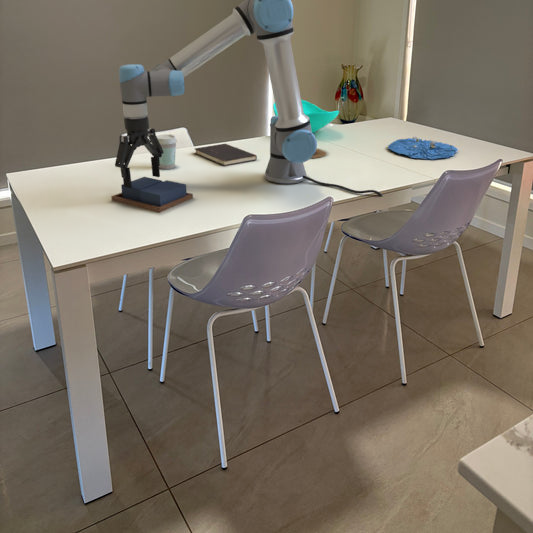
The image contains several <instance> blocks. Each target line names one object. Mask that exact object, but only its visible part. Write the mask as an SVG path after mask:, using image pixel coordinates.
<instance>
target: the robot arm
mask: <svg viewBox="0 0 533 533" xmlns="http://www.w3.org/2000/svg"><path fill="white" fill-rule="evenodd" d="M293 18H294V6H293V3H292V0H244V1H242V2H240V4H238V5H237V6H236V7H233V8H232V14H230V15H229V16H227V17H226V18H224V19H223V20H221V21H220V22H218V23H217V24H216V25H215V26H213V27H212V28H211V29H209V30H208V31H206V32H205V33H203V34H202V35H200V36H199V37H198V38H196V39H195V40H193V41H192V42H190V43H189V44H187V46H185V47H183V48H182V49H181V50H179V51H178V52H177V53H175V54H174V55H172V56H170V57H169V58H168V59H167V60H165V61H163V63H160V64H157V65H156V66H155V67H154V68H153V69H152V71H151V70H150V71H147V70H145V68H144V67H145V66H144V65H143V64H135V63H134V64H133V63H132V64H131V63H129V64H123V65H121V66H120V67H119V68H118V71H119V72H118V74H119V87H120V95H121V102H122V114H123V116H124V118H123V122H124V130H125V131H126V135H119V143H118V144H119V145H118V149H117V153H116V158H115V162H114V167H116V168H119V169H120V174H121V178H122V181H123V184H124V187H127V188H132V185H131V181H132V175H131V168H130V167H129V165H130V163H131V160H132V157H133V155H134V152H135V151H136V150H137V149H138V148H140V147H141V146H144V147H145V149H146V150H147V151H148V152H149V154H151V156H150V163H151V175H152V177H155V178H160V177H161V172H160V160H159V157H160V158H161V157H162V154H163V153H164V152H163V149H162V147H161V145H160V143H159V141H158V139H157V137H156V136H157V134H156V130H155V129H156V128H153V127H150V124H149V122H150V121H149V117H148V115H149V112H148V102H147V97H149V98H151V97H176V96H182V95H184V94H185V78H186V77H187V76H189V75H190V74H191V73H193V72H194V71H195V70H197V69H199V68H200V67H202V66H203V65H205V64H206V63H208V62H209V61H210V60H212V59H213V58H214V57H216V56H217V55H219V54H220V53H222V52H223V51H225V50H226V49H228V48H229V47H230V46H231V45H233V44H234V43H237V41H239V40H240V39H242V38H243V37H244V36H249V37H250V36H251V35H253V34H254V33H255V36H256V40H257V41H258V42H259V43H260V44H261V45H262V46H263V50H264V55H265V60H266V64H267V69H268V75H269V80H270V84H271V89H272V94H273V98H274V99H273V100H274V103H275V104H276V109H277V114H278V116H275V115H274V116H271V117H270V124H269V127H270V128H269V129H270V130H269V131H270V132H269V133H270V134H269V135H270V136H269V159H268V162H267V165H266V167H265V168H266V169H265V172H264V179H265V180H266V181H268V182H269V183H273V184H280V185H292V184H293V185H294V184H299V183H303V182H304V181H306V180H308V181H310V182H312V183H314V184H317V185H321V186H325V187H326V186H327V187H332V188H338V189H342V190H344V191H347V192H350V193H352V194H353V193H354V194H368V193H369V194H370V193H372V194H376V195H377V196H379V197H380V198H383V197H384V196H383V194H382V193H381V192H379V191H377V190H375V189H366V190H355V189H351V188H348V187H346V186H343V185H340V184H335V183H328V182H322V181H318V180H315V179H313V178H311V177H309V176H307V171H306V167H305V164H304V163H306V162H308V161H309V160H311V159H312V158H311V157H312V156H313V155H314V153H315V152H316V149H318V141H317V138H315V137H316V136H315V134H314V133H312V130H311V125H310V120H309V117H308V116H306V115H305V114H304V112H303V107H302V101H301V100H302V97H301V91H300V85H299V80H298V74H297V68H296V63H295V58H294V52H293V47H292V41H291V38H292V36H293V34H294V33H295V31H294V24H293Z"/></svg>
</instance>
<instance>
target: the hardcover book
mask: <svg viewBox="0 0 533 533" xmlns="http://www.w3.org/2000/svg"><path fill="white" fill-rule="evenodd" d="M194 150H195V152H194V155H197V156H199V157H201V158H204V159H206V160H209V161H211V162H213V163H216V164H218V165H220V166H223V167H228V166H233V165H239V164H244V163H249V162H250V163H251V162H255V161H257V159H258V156H257V155H256V154H254V153H253V152H249V151H246V150H244V149H241V148H238V147H236V146H233V145H231V144H227V143H221V144H214V145H208V146H202V147H201V146H200V147H196V148H194Z"/></svg>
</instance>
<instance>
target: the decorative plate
mask: <svg viewBox="0 0 533 533" xmlns="http://www.w3.org/2000/svg"><path fill="white" fill-rule="evenodd" d="M387 148H388V150H390V151H392V152H394V153H396V154H398V155H405V156H407V157H409V158H411V159H423V160H438V159H444V158H445V159H447V158H450V157H453V156H455V155H456V153H457V152H458V151H459V149H458V148H457V147H455V145H453V144H448V143H444V142H441V141H439V142H438V141H435V140H432V139H430V140H427V139H423V138H422V139H421V138H418V137H417V136H413V137H412V138H410V137H407V138H401V139H400V138H399V139H396V140H394V141H392V142H391V143H390V144H388V145H387Z"/></svg>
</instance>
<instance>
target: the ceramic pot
mask: <svg viewBox="0 0 533 533" xmlns="http://www.w3.org/2000/svg"><path fill="white" fill-rule="evenodd" d="M315 138H316V136H315ZM316 139H317V138H316ZM326 155H327V152H326V151H324V150H322V149H321V148H317V149H316V152H315V153H314V155H313V156H312V157H311V158H310V159H317V158H322V157H325V156H326Z"/></svg>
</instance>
